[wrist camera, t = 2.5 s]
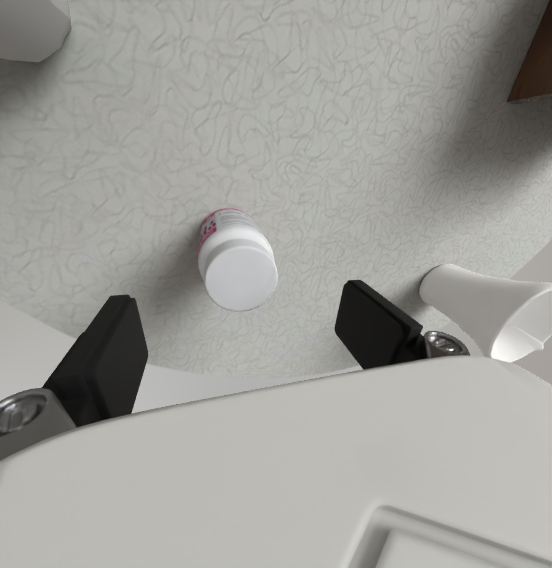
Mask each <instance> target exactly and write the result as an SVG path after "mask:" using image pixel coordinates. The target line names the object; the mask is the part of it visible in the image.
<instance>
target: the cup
mask: <svg viewBox="0 0 552 568" xmlns="http://www.w3.org/2000/svg"><path fill="white" fill-rule="evenodd" d="M419 294H420V297H421V299H422V300H423V301H424V302H425V303H427V304H429V305H431V306H433V307H434V308H436V309H437V310H439V311H440V312H442V313H443V314H445V315H446V316H447V317H449V318H450V319H451V320H452V321H454V322H455V323H456V324H458V326H459V327H460V328H461V329H462V330H463V331H464V332H465V333H467V334H468V335H469V336H470V337H471V338H472V339H473V340H474V341H475V343H476V344H477V346H478V347H479V349H480V350H481V352H482V353H483V355H484V356H485V357H487V358H494V359H498V360H502V361H506V362H509V363H511V362H513V361H516V360H518V359H520V358H522V357H524V356H525V355H527V354H529V353H530V352H532V351H534V350H543V348H544V346H543V343H544V342H545V341H546V340H547V339H548V338H549V337H550V336H551V335H552V283H551V282H520V281H515V280H510V279H504V278H494V277H489V276H485V275H482V274H478V273H475V272H472V271H469V270H466V269H463V268H460V267H458V266H456V265H454V264H444V265H440V266H437V267H436V268H434V269H432V270H431V271H430V272H429V273H428V274H427V275H426V276H425V278H424V279H423V281H422V283H421V285H420V289H419Z"/></svg>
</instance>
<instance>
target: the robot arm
mask: <svg viewBox="0 0 552 568" xmlns="http://www.w3.org/2000/svg"><path fill="white" fill-rule="evenodd" d="M422 328H423V326H422V325H421V324H419V323H418V322H417V321H415V320H414V319H413V318H411V317H410V316H409V315H407V314H406V313H404V312H403V311H402V310H400V309H399V308H398V307H396V306H395V305H394V304H392V303H391V302H390V301H388V300H387V299H386V298H384V297H383V296H382V295H380V294H379V293H378V292H376V291H375V290H374V289H372V288H371V287H370V286H368V285H367V284H366V283H364V282H363V281H361V280H349V281H348V282H347V283H346V284H345V285H344V287H343V292H342V296H341V301H340V305H339V310H338V314H337V319H336V324H335V332H336V334H337V336H338V337H339V338H340V340H341V341H342V342H343V344H344V345H345V346H346V347H347V349H348V350H349V351H350V353H351V354H352V355H353V357H354V358H355V359H356V360H357V362H358V363H359V364H360V366H361V367H362V368H363V369H364V370H359V371H354V372H348V373H342V374H337V375H331V376H326V377H320V378H315V379H310V380H304V381H298V382H293V383H288V384H283V385H277V386H272V387H266V388H261V389H255V390H251V391H245V392H240V393H234V394H229V395H224V396H219V397H213V398H208V399H203V400H197V401H192V402H187V403H182V404H176V405H171V406H166V407H161V408H156V409H151V410H146V411H142V412H137V413H133V414H131V413H132V409H133V406H134V403H135V399H136V396H137V392H138V389H139V386H140V382H141V379H142V376H143V372H144V369H145V366H146V362H147V358H148V350H147V345H146V341H145V337H144V333H143V328H142V324H141V320H140V316H139V311H138V307H137V303H136V300H135V298H130V296H129V295H115V296H110V297H109V299H108V300H107V301H106V303H105V304H104V306H103V307H102V308H101V310H100V311H99V312H98V314H97V315H96V317H95V318H94V319H93V321H92V322H91V324H90V325H89V326H88V328H87V329H86V331H85V332H83V333H82V334H81V335H80V336H79V337H78V339H77V340H76V342H75V343H74V344H73V346H72V347H71V348H70V350H69V351H68V353H67V354H66V355H65V357H64V358H63V359H62V361H61V362H60V363H59V365H58V366H57V368H56V369H55V370H54V372H53V373H52V374H51V376H50V377H49V379H48V380H47V381H46V383H45V384H44V385H43V387H42V388H36V389H29V390H26V391H22V392H19V393H16V394H14V395H11V396H9V397H7V398H5V399H3V400H1V401H0V568H552V385H550V384H549V383H547V382H546V381H544V380H542V379H541V378H539V377H537V376H535V375H534V374H532V373H530V372H529V371H527V370H525V369H523V368H521V367H519V366H517V365H514V364H512V363H509V362H506V361H502V360H498V359H494V358H487V357H481V356H470V354H469V351H468V349H467V347H466V346H465V345H464V344H463V343H462V342H461V341H460V340H458V339H456V338H455V337H453V336H450V335H449V334H446V333H443V332H438V331H428V332H426V333H425V334H424V336H422V335H421V334H420V333H421V330H422Z"/></svg>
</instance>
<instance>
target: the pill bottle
mask: <svg viewBox="0 0 552 568" xmlns="http://www.w3.org/2000/svg"><path fill="white" fill-rule="evenodd" d="M198 265H199V270H200V274H201V276H202V278H203V280H204V282H205V288H206V291H207V293H208V295H209V297H210V298H211V299H212V300H213V301H214V302H215V303H216V304H217V305H218V306H220V307H222V308H224V309H227V310H230V311H248V310H252V309H254V308H256V307H258V306H260V305H262V304H263V303H265V302H266V301H267V300H268V299H269V298H270V297H271V295H272V294H273V292H274V290H275V288H276V285H277V280H278V273H277V268H276V265H275V263H274V255H273V251H272V248H271V246H270V244H269V242H268V241H267V239H266V238H265V237H264V235H263V234H262V232H261V231H260V230H259V228H258V227H257V225H256V224H255V223H254V221H253V220H252V219H251V217H250V216H248V215H247V214H246V213H244V212H242V211H240V210H237V209H233V208H224V209H220V210H217V211H215V212H213V213H212V214H210V215H209V216H208V217H207V218H206V220H205V221H204V223H203V225H202V228H201V232H200V243H199V255H198Z"/></svg>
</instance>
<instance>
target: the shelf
mask: <svg viewBox="0 0 552 568" xmlns="http://www.w3.org/2000/svg"><path fill="white" fill-rule="evenodd" d="M546 98H552V0H550V2H549V5H548V7H547V9H546V12H545V14H544V16H543V19H542V21H541V23H540V26H539V28H538V30H537V33H536V35H535V37H534V40H533V42H532V45H531V47H530V49H529V52H528V54H527V56H526V59H525V61H524V63H523V66H522V68H521V70H520V73H519V75H518V77H517V80H516V82H515V85H514V87H513V89H512V92H511V94H510V96H509V99H508V101H507V102H511V103H515V104H518V103H523V102H529V101H535V100H540V99H546Z"/></svg>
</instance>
